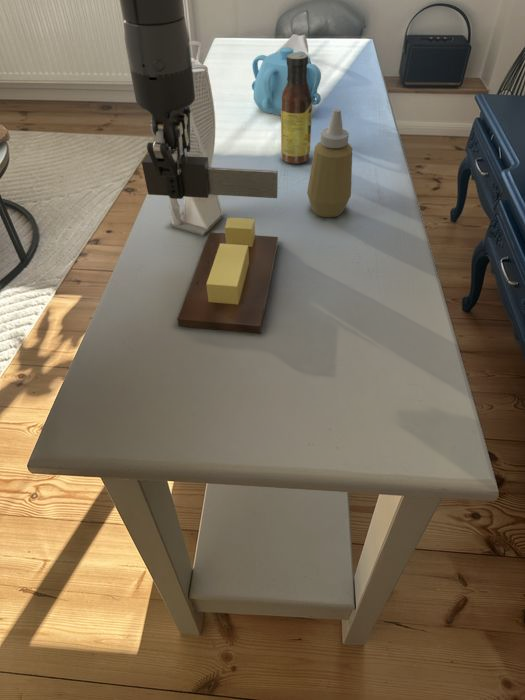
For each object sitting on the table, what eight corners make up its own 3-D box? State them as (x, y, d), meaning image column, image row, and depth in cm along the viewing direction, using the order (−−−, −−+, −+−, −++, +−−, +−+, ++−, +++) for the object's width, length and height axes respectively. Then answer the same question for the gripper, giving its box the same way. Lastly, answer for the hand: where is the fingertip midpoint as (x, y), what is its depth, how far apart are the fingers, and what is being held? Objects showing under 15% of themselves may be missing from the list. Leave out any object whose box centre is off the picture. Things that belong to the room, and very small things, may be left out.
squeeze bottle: (343, 224, 87) (357, 123, 74) (300, 217, 89) (306, 116, 76) (353, 202, 92) (366, 103, 79) (312, 195, 94) (319, 98, 81)
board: (178, 326, 70) (176, 318, 69) (210, 239, 85) (209, 231, 84) (260, 333, 69) (259, 326, 68) (277, 243, 84) (278, 236, 82)
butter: (208, 302, 71) (206, 283, 69) (221, 261, 78) (220, 243, 75) (238, 304, 71) (237, 286, 68) (249, 263, 77) (248, 245, 75)
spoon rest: (305, 83, 136) (307, 54, 130) (264, 80, 138) (264, 52, 132) (318, 56, 151) (320, 30, 146) (281, 54, 153) (282, 28, 148)
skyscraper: (195, 204, 93) (173, 36, 72) (231, 213, 90) (220, 42, 70) (170, 226, 88) (140, 52, 67) (208, 237, 85) (189, 60, 65)
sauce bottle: (313, 163, 103) (320, 59, 89) (285, 167, 102) (288, 63, 88) (303, 150, 108) (308, 49, 93) (276, 154, 107) (277, 52, 92)
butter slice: (226, 245, 81) (224, 227, 78) (229, 235, 83) (227, 217, 80) (252, 247, 80) (251, 229, 78) (255, 236, 82) (254, 218, 80)
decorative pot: (322, 120, 119) (327, 58, 109) (257, 123, 117) (256, 61, 107) (310, 95, 130) (314, 37, 120) (251, 98, 128) (249, 40, 118)
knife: (148, 194, 71) (141, 161, 67) (152, 186, 72) (146, 154, 69) (276, 201, 69) (276, 168, 65) (278, 193, 71) (278, 160, 67)
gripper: (146, 43, 64) (166, 168, 76) (111, 80, 54) (140, 216, 67) (202, 45, 63) (213, 171, 76) (176, 82, 53) (193, 219, 66)
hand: (179, 191), depth 71 cm, fingers closed on knife, 2 cm apart
